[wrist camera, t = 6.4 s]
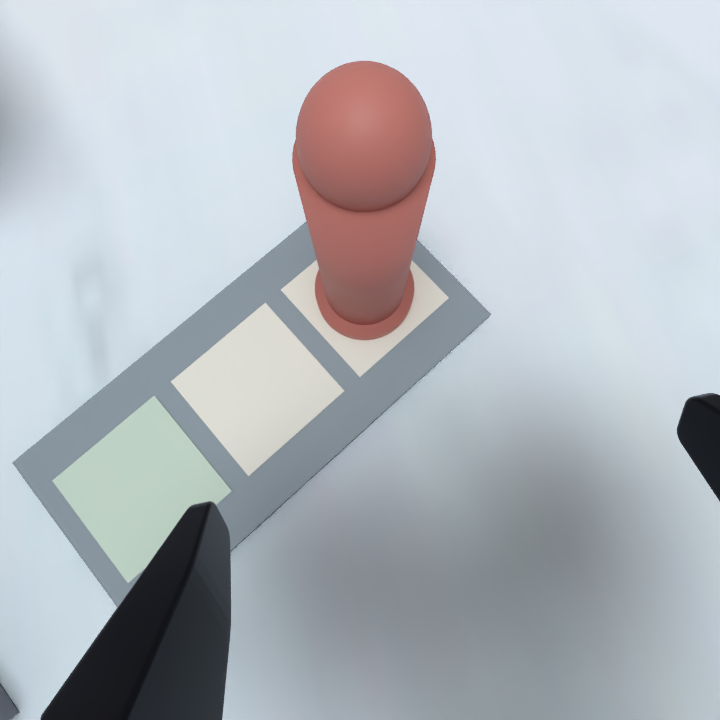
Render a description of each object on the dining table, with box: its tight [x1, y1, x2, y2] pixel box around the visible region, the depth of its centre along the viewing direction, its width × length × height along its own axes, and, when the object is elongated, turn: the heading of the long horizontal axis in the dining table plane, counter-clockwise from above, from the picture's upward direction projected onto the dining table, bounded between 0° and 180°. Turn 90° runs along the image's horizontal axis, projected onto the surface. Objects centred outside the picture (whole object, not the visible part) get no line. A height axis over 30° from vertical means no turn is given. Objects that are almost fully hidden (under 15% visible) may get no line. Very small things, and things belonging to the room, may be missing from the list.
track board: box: [12, 222, 491, 607], centre depth 22 cm, size 10×22×1 cm, turn 132°
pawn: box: [292, 61, 436, 340], centre depth 16 cm, size 5×5×13 cm
